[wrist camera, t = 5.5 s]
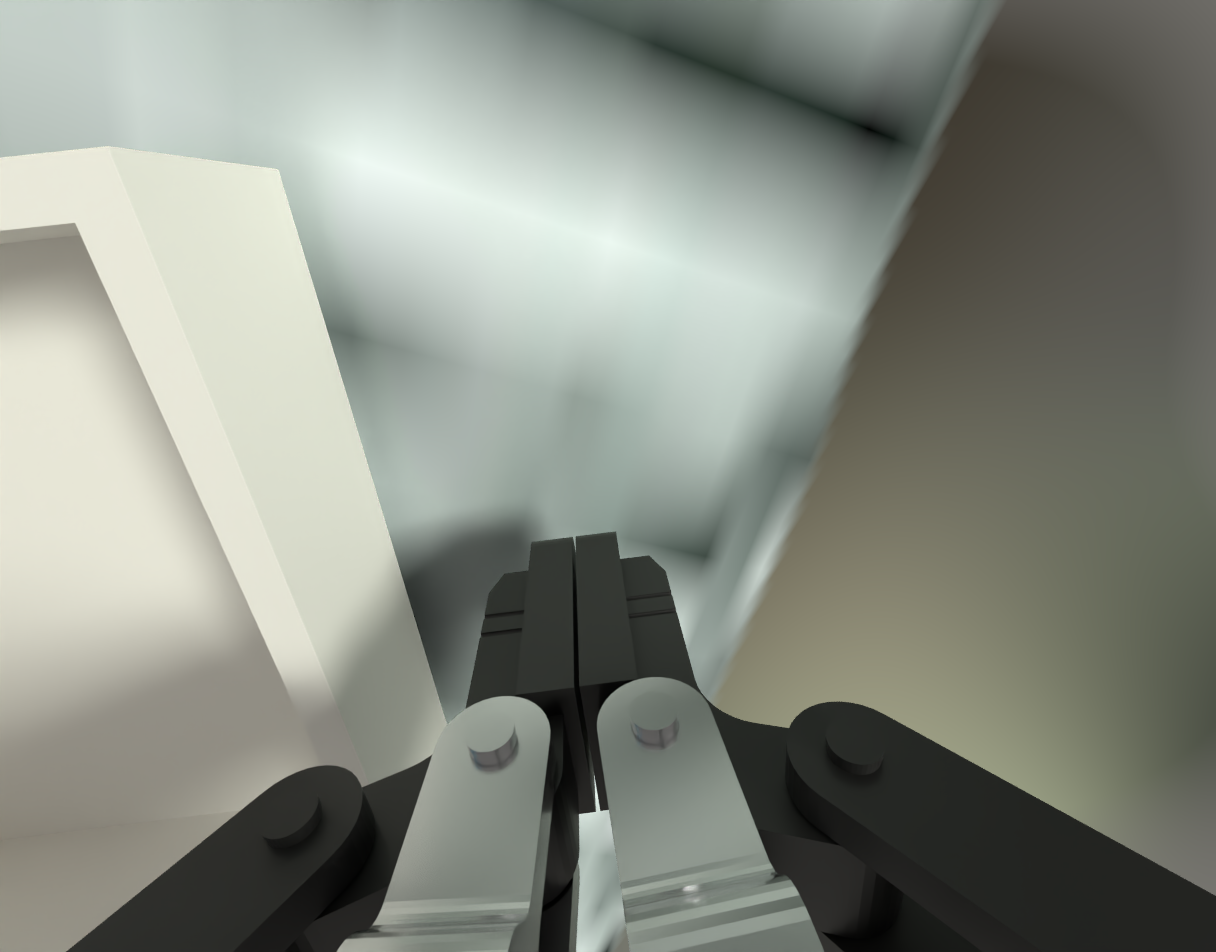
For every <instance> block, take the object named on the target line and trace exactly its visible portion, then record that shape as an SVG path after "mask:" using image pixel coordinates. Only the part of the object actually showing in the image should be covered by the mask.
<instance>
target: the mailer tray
mask: <svg viewBox="0 0 1216 952" xmlns="http://www.w3.org/2000/svg"><path fill="white" fill-rule="evenodd" d="M446 726H447V723H446V720H445V716H444V713H443V710H442V706H441V703H440V700H439V697H438V693H437V690H436V687H435V683H434V680H433V677H432V674H431V670H430V667H429V664H428V660H427V657H426V654H425V651H424V647H423V644H422V641H421V637H420V634H419V631H418V628H417V624H416V621H415V618H414V614H413V611H412V608H411V605H410V601H409V598H408V595H407V591H406V588H405V585H404V582H403V578H402V575H401V572H400V568H399V565H398V562H397V558H396V555H395V552H394V549H393V545H392V542H391V539H390V535H389V532H388V529H387V526H386V522H385V519H384V516H383V512H382V509H381V506H380V503H379V499H378V496H377V493H376V489H375V486H374V483H373V480H372V476H371V473H370V470H369V466H368V463H367V460H366V457H365V453H364V450H363V447H362V443H361V440H360V437H359V434H358V430H357V427H356V424H355V420H354V417H353V414H352V411H351V407H350V404H349V401H348V397H347V394H346V391H345V388H344V384H343V381H342V378H341V374H340V371H339V368H338V364H337V361H336V358H335V355H334V351H333V348H332V345H331V341H330V338H329V335H328V332H327V328H326V325H325V322H324V318H323V315H322V312H321V309H320V305H319V302H318V299H317V295H316V292H315V289H314V286H313V282H312V279H311V276H310V272H309V269H308V266H307V263H306V259H305V256H304V253H303V249H302V246H301V243H300V240H299V236H298V233H297V230H296V226H295V223H294V220H293V217H292V213H291V210H290V207H289V203H288V200H287V197H286V193H285V190H284V187H283V184H282V180H281V177H280V174H279V170H278V169H273V168H265V167H258V166H251V165H243V164H236V163H228V162H221V161H214V160H206V159H199V158H192V157H184V156H177V155H169V154H162V153H155V152H147V151H140V150H132V149H125V148H118V147H110V146H105V147H96V148H86V149H77V150H67V151H58V152H48V153H39V154H29V155H20V156H10V157H1V158H0V952H66V951H67V950H69V949H70V948H71V947H72V946H74V945H75V944H76V943H77V942H79V941H80V940H81V939H82V938H84V937H85V936H86V935H87V934H88V933H90V932H91V931H92V930H93V929H95V928H96V927H97V926H98V925H100V924H101V923H102V922H103V921H105V920H106V919H107V918H108V917H109V916H111V915H112V914H113V913H114V912H116V911H117V910H118V909H119V908H121V907H122V906H123V905H124V904H126V903H127V902H128V901H129V900H131V899H132V898H133V897H134V896H135V895H137V894H138V893H139V892H140V891H142V890H143V889H144V888H145V887H147V886H148V885H149V884H150V883H152V882H153V881H154V880H155V879H156V878H158V877H159V876H160V875H161V874H163V873H164V872H165V871H166V870H168V869H169V868H170V867H171V866H173V865H174V864H175V863H176V862H177V861H179V860H180V859H181V858H182V857H184V856H185V855H186V854H187V853H189V852H190V851H191V850H192V849H194V848H195V847H196V846H197V845H199V844H200V843H201V842H202V841H203V840H205V839H206V838H207V837H208V836H210V835H211V834H212V833H213V832H215V831H216V830H217V829H218V828H220V827H221V826H222V825H223V824H224V823H226V822H227V821H228V820H229V819H231V818H232V817H233V816H234V815H236V814H237V813H238V812H239V811H241V810H242V809H243V808H244V807H246V806H247V805H248V804H249V803H250V802H252V801H253V800H254V799H255V798H257V797H258V796H259V795H260V794H262V793H263V792H264V791H266V790H267V789H268V788H270V787H271V786H272V785H274V784H275V783H277V782H279V781H280V780H282V779H284V778H285V777H287V776H290V775H292V774H294V773H296V772H299V771H301V770H304V769H307V768H311V767H316V766H324V765H332V766H339V767H343V768H346V769H347V770H349V771H351V772H352V773H353V774H354V775H355V776H356V777H357V778H358V780H359V782H360V784H361V786H362V787H364V786H366V785H369V784H371V783H374V782H376V781H378V780H381V779H383V778H386V777H388V776H391V775H393V774H395V773H398V772H400V771H403V770H405V769H407V768H410V767H412V766H414V765H416V764H418V763H420V762H421V761H423V760H425V759H426V758H428V757H429V756H431V755H432V754H433V751H434V748H435V745H436V743H437V741H438V738H439V736H440V735H441V733H442V731H443V730H444V728H445V727H446Z"/></svg>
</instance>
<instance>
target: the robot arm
mask: <svg viewBox="0 0 1216 952" xmlns="http://www.w3.org/2000/svg"><path fill="white" fill-rule="evenodd" d="M594 775H595V781H596V787H597V793H598V799H599V805H600V811H603V810H609V813H610V819H611V826H612V833H613V839H614V846H615V853H616V859H617V866H618V873H619V879H620V886H621V893H622V899H623V906H624V915H625V922H626V929H627V935H628V942H629V949H630V952H1216V896H1215V895H1213V894H1211V893H1209V892H1208V891H1206V890H1204V889H1202V888H1200V887H1198V886H1197V885H1195V884H1193V883H1191V882H1189V881H1187V880H1186V879H1184V878H1182V877H1180V876H1178V875H1176V874H1175V873H1173V872H1171V871H1169V870H1167V869H1166V868H1164V867H1162V866H1160V865H1158V864H1156V863H1155V862H1153V861H1151V860H1149V859H1147V858H1145V857H1144V856H1142V855H1140V854H1138V853H1136V852H1134V851H1133V850H1131V849H1129V848H1127V847H1125V846H1124V845H1122V844H1120V843H1118V842H1116V841H1114V840H1113V839H1111V838H1109V837H1107V836H1105V835H1103V834H1102V833H1100V832H1098V831H1096V830H1094V829H1093V828H1091V827H1089V826H1087V825H1085V824H1083V823H1081V822H1079V821H1078V820H1076V819H1074V818H1072V817H1071V816H1069V815H1067V814H1065V813H1063V812H1061V811H1059V810H1058V809H1056V808H1054V807H1052V806H1050V805H1049V804H1047V803H1045V802H1043V801H1041V800H1040V799H1038V798H1036V797H1034V796H1032V795H1030V794H1028V793H1026V792H1025V791H1023V790H1021V789H1019V788H1018V787H1016V786H1014V785H1012V784H1010V783H1009V782H1007V781H1005V780H1003V779H1001V778H999V777H998V776H996V775H994V774H992V773H990V772H988V771H986V770H985V769H983V768H981V767H979V766H977V765H976V764H974V763H972V762H970V761H968V760H966V759H965V758H963V757H961V756H959V755H957V754H956V753H954V752H952V751H950V750H948V749H946V748H945V747H943V746H941V745H939V744H937V743H935V742H934V741H932V740H930V739H928V738H926V737H924V736H923V735H921V734H919V733H917V732H915V731H914V730H912V729H910V728H908V727H906V726H904V725H903V724H901V723H899V722H897V721H895V720H893V719H892V718H890V717H888V716H886V715H884V714H882V713H880V712H878V711H876V710H874V709H871V708H868V707H866V706H863V705H859V704H854V703H849V702H826V703H821V704H817V705H814V706H811V707H809V708H807V709H806V710H804V711H802V712H801V713H800V714H799V715H798V716H797V717H796V718H795V719H794V720H793V722H792V723H791V725H790V728H783V727H777V726H771V725H764V724H758V723H752V722H748V721H743V720H740V719H737V718H734V717H732V716H730V715H728V714H726V713H724V712H722V711H721V710H719V709H718V708H716V707H715V706H714V705H712V704H711V703H710V702H709V701H708V700H707V699H706V698H705V697H704V695H703V694H702V693H701V691H700V690H699V688H698V686H697V684H696V681H695V678H694V674H693V671H692V667H691V663H690V660H689V656H688V652H687V649H686V645H685V641H684V638H683V634H682V630H681V627H680V623H679V619H678V616H677V613H676V608H675V605H674V601H673V597H672V595H671V590H670V586H669V582H668V579H667V575H666V571H665V570H664V569H663V568H662V567H660V566H659V565H658V564H657V563H656V562H655V561H654V560H653V559H652V558H651V557H650V556H642V557H634V558H626V559H620V556H619V549H618V543H617V536H616V532H608V533H600V534H592V535H584V536H576V552H575V545H574V540H573V537H569V538H561V539H553V540H545V541H537V542H532V544H531V551H530V561H529V570H528V571H523V572H515V573H507V574H504V575H503V577H502V578H501V579H500V580H499V582H498V583H497V584H496V585H495V587H494V588H493V589H492V590H491V592H490V593H489V596H488V601H487V606H486V611H485V619H484V621H483V626H482V631H481V638H480V641H479V645H478V650H477V655H476V660H475V665H474V670H473V675H472V680H471V685H470V690H469V695H468V700H467V705H466V709H465V710H463V711H462V712H461V713H459V714H458V715H457V716H456V717H455V718H453V719H452V720H451V721H450V722H449V724H448V725H447V726H446V727H445V728H444V730H443V731H442V733H441V735H440V736H439V738H438V741H437V743H436V745H435V748H434V751H433V754H432V755H431V756H429V757H428V758H426V759H425V760H423V761H421V762H420V763H418V764H416V765H414V766H412V767H410V768H407V769H405V770H403V771H400V772H398V773H395V774H393V775H391V776H388V777H386V778H383V779H381V780H378V781H376V782H374V783H371V784H369V785H366V786H364V787H362V786H361V784H360V782H359V780H358V778H357V777H356V776H355V775H354V774H353V773H352V772H351V771H349V770H347V769H346V768H343V767H339V766H332V765H324V766H316V767H311V768H307V769H304V770H301V771H299V772H296V773H294V774H292V775H290V776H287V777H285V778H284V779H282V780H280V781H279V782H277V783H275V784H274V785H272V786H271V787H270V788H268V789H267V790H266V791H264V792H263V793H262V794H260V795H259V796H258V797H257V798H255V799H254V800H253V801H252V802H250V803H249V804H248V805H247V806H246V807H244V808H243V809H242V810H241V811H239V812H238V813H237V814H236V815H234V816H233V817H232V818H231V819H229V820H228V821H227V822H226V823H224V824H223V825H222V826H221V827H220V828H218V829H217V830H216V831H215V832H213V833H212V834H211V835H210V836H208V837H207V838H206V839H205V840H203V841H202V842H201V843H200V844H199V845H197V846H196V847H195V848H194V849H192V850H191V851H190V852H189V853H187V854H186V855H185V856H184V857H182V858H181V859H180V860H179V861H177V862H176V863H175V864H174V865H173V866H171V867H170V868H169V869H168V870H166V871H165V872H164V873H163V874H161V875H160V876H159V877H158V878H156V879H155V880H154V881H153V882H152V883H150V884H149V885H148V886H147V887H145V888H144V889H143V890H142V891H140V892H139V893H138V894H137V895H135V896H134V897H133V898H132V899H131V900H129V901H128V902H127V903H126V904H124V905H123V906H122V907H121V908H119V909H118V910H117V911H116V912H114V913H113V914H112V915H111V916H109V917H108V918H107V919H106V920H105V921H103V922H102V923H101V924H100V925H98V926H97V927H96V928H95V929H93V930H92V931H91V932H90V933H88V934H87V935H86V936H85V937H84V938H82V939H81V940H80V941H79V942H77V943H76V944H75V945H74V946H72V947H71V948H70V949H69V950H67V951H66V952H576V938H577V918H578V899H579V880H580V876H579V865H578V858H579V814H582V813H590V812H596V806H595V785H594Z"/></svg>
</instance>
